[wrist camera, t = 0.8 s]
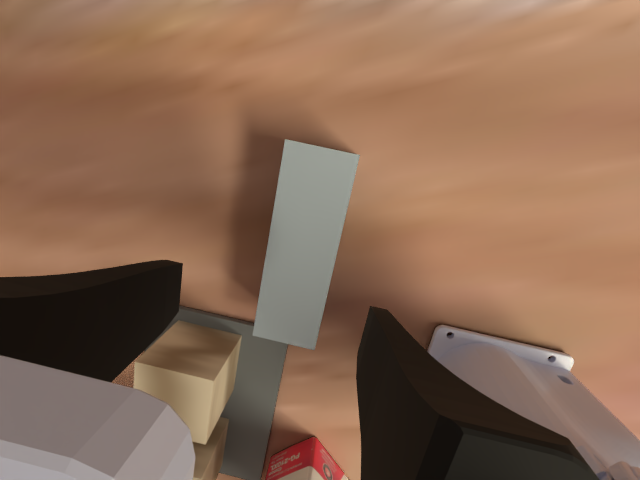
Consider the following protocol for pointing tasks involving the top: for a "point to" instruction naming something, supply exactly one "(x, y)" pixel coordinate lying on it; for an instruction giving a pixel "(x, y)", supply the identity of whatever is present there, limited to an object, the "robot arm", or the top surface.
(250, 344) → the mat
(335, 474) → the ink box
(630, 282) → the top surface
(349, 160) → the lintel
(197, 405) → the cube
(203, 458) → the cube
